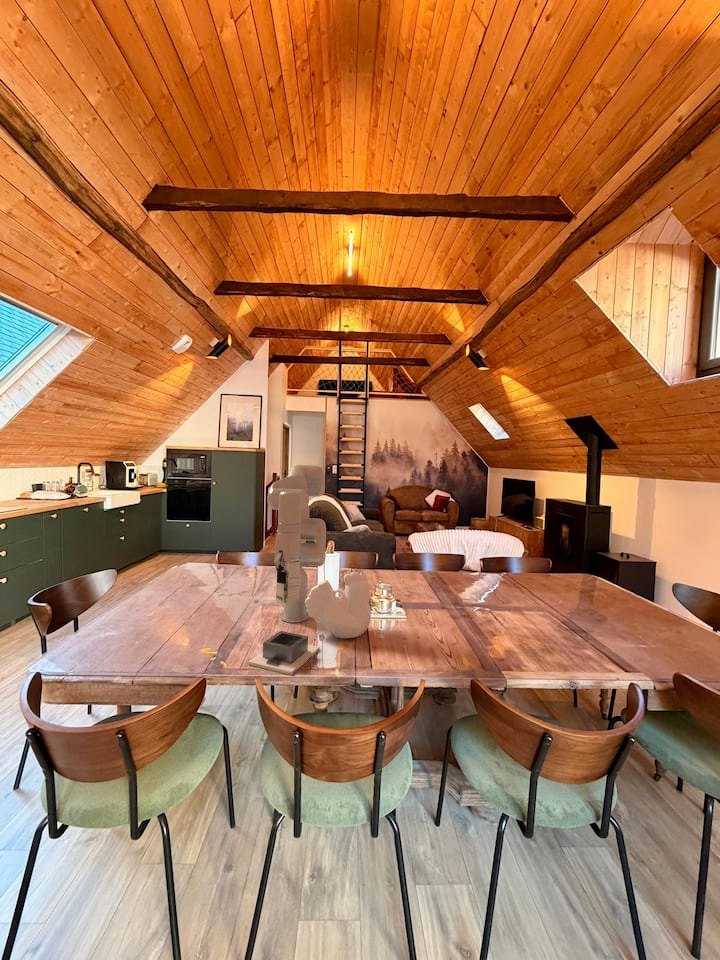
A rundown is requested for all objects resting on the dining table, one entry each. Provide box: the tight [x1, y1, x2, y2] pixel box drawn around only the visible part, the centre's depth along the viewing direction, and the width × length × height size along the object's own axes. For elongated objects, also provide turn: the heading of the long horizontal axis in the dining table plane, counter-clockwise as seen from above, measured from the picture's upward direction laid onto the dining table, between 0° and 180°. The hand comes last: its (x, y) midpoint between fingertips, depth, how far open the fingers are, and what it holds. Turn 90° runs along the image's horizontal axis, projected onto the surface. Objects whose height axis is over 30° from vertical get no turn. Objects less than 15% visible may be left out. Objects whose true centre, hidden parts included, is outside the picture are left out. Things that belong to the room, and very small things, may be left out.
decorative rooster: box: [305, 571, 373, 639], centre depth 170 cm, size 25×16×25 cm, turn 81°
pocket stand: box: [247, 630, 321, 676], centre depth 149 cm, size 20×16×6 cm
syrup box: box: [275, 558, 300, 604], centre depth 148 cm, size 6×6×14 cm
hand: (287, 579), depth 148 cm, fingers closed on syrup box, 7 cm apart
